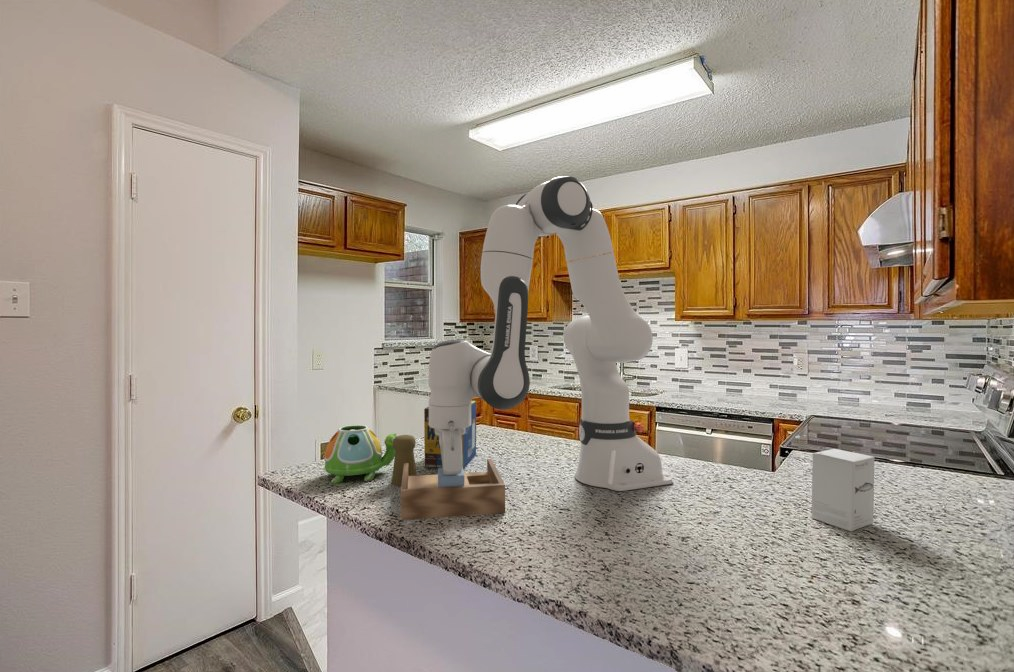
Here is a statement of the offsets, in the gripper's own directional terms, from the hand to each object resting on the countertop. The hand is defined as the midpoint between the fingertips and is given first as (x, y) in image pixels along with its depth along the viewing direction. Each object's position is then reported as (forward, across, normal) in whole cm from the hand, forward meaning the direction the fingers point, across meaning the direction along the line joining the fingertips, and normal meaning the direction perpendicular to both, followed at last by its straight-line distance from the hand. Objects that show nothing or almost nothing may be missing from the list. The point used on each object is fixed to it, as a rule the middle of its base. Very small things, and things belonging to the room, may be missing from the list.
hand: (450, 483), depth 103 cm
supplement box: (+4, -23, -72) cm, 75 cm away
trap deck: (+4, +1, 0) cm, 4 cm away
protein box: (+4, +30, -2) cm, 30 cm away
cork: (+4, +14, +10) cm, 18 cm away
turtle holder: (+4, +22, +21) cm, 30 cm away
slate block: (+1, -5, 0) cm, 5 cm away
